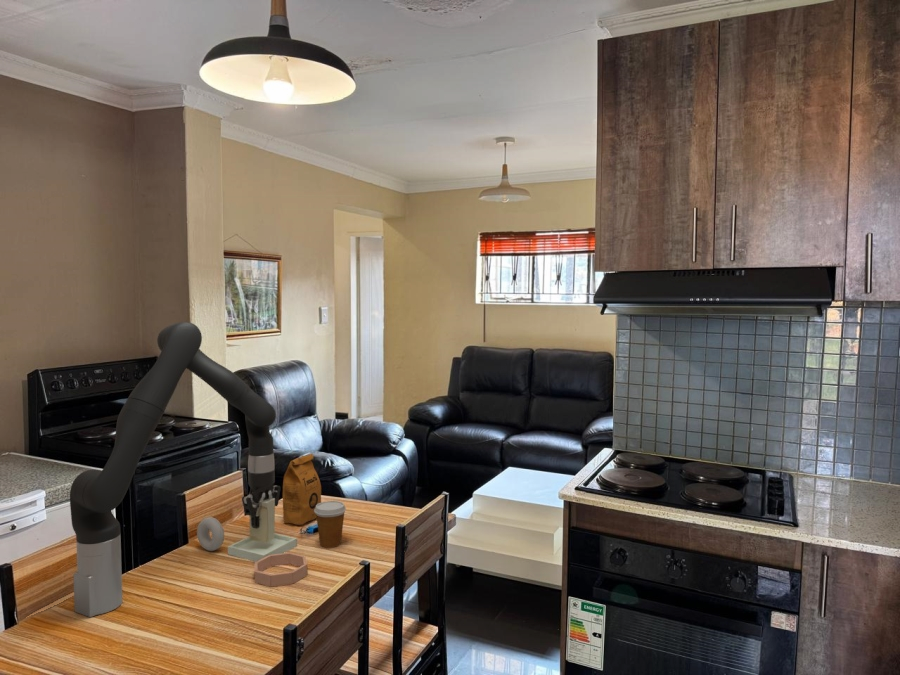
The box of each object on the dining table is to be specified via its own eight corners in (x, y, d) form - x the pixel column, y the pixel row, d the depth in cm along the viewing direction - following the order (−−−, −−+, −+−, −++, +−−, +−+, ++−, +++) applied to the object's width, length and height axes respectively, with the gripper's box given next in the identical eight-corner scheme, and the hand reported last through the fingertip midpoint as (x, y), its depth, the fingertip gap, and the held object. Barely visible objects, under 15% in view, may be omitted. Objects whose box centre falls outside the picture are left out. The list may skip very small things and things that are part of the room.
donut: (227, 551, 178) (226, 518, 178) (217, 555, 175) (216, 522, 175) (204, 545, 183) (203, 512, 183) (194, 549, 180) (194, 516, 180)
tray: (263, 563, 170) (263, 555, 170) (227, 554, 176) (227, 546, 176) (297, 545, 182) (297, 538, 182) (262, 537, 189) (262, 530, 189)
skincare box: (249, 540, 178) (248, 500, 177) (258, 535, 182) (257, 495, 182) (267, 543, 176) (266, 502, 175) (276, 537, 180) (275, 497, 180)
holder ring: (282, 590, 154) (282, 578, 154) (243, 579, 160) (243, 568, 160) (316, 569, 166) (316, 558, 166) (279, 560, 172) (279, 549, 172)
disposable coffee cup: (342, 550, 179) (342, 510, 179) (311, 549, 180) (310, 510, 179) (348, 537, 189) (348, 500, 188) (318, 537, 189) (318, 500, 188)
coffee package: (326, 517, 207) (325, 454, 206) (301, 528, 197) (300, 462, 195) (304, 512, 212) (303, 451, 211) (278, 523, 201) (277, 458, 200)
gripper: (253, 476, 170) (254, 535, 171) (287, 464, 183) (288, 519, 184) (233, 473, 173) (234, 530, 174) (269, 461, 186) (269, 515, 187)
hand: (262, 524), depth 179 cm, fingers closed on skincare box, 4 cm apart
